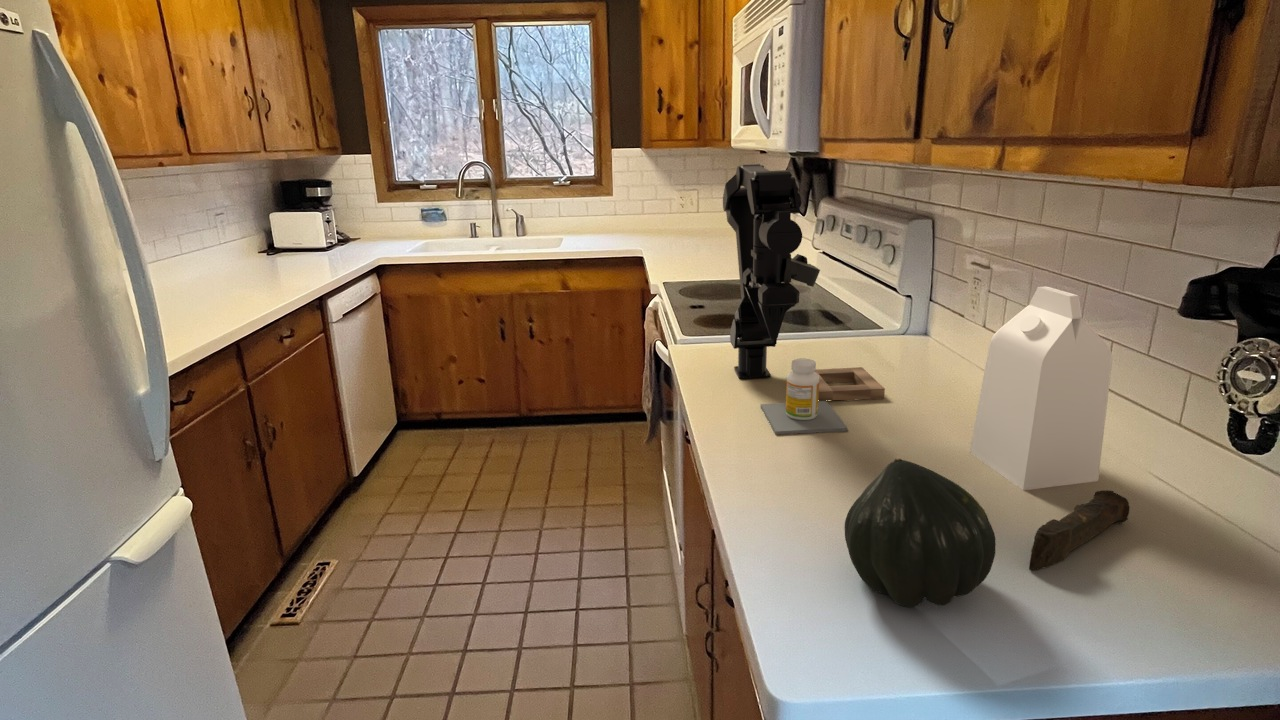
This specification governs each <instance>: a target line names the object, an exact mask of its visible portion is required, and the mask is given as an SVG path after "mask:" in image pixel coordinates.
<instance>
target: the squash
mask: <svg viewBox="0 0 1280 720" xmlns="http://www.w3.org/2000/svg"><path fill="white" fill-rule="evenodd" d="M844 539H845V543H846V547H847V551H848V555H849V557H850V560H851V563H852V565H853V566H854V569H855V570H856V572H857V573H858V576H859V577H860V579H861V580H862V582H863V583H864V584H865V585H866V586H867V587H868V588H870V589H871V590H872V591H873V592H876V593H879V594H883V595H889V596H890V598H891V599H892V600H893V601H894V603H896V604H898V605H899V606H902V607H905V608H913V607H916V606H919V605H920V604H922V603H923V601H924V599H926V601H927V602H929V603H930V604H932V605H936V606H945V605H947V604H949V603H950V602H951V601H952V600H953V599H954V597H961V596H966V595H968V594H970V593H971V592H973V591H974V590H975V589H976V587H978V586H980V585H981V584H982V583H983V582H984V581H985V580H986V578H987V577H988V576H989V573H990V572H991V569H992V567H993V563H994V560H995V557H996V535H995V532H994V529H993V526H992V524H991V523H990V520H989V518H988V515H987V513H986V511H985V510H984V508H983V507H982V506H981V505H980V503H979V502H978V501H977V500H976V498H975V497H974V496H973V495H972V494H971V493H970V492H969V491H967V490H966V489H965V488H963V487H962V486H961V485H959V484H957V483H955V482H954V481H953V480H951V479H949V478H947V477H945V476H943V475H941V474H939V473H938V472H935V471H934V470H932V469H930V468H927V467H925V466H923V465H920V464H917V463H916V462H915V463H914V462H912V461H908V460H906V459H902V458H900V457H899V458H894V460H893V461H892V462H890V463H889V464H888V465H887V466H885V468H884V469H882V471H881V472H880V473H879V475H878V476H877V477H876V478H875V479H873V480H872V481H871V482H870V484H868V485H867V486H866V487H865V489H864V490H863V491H862V493H861V494H860V495H859V497H858V498H857V499H856V500H855V501H854V502H853V504H852V505H851V507H850V508H849V509H848V513H847V515H846V517H845V520H844Z"/></svg>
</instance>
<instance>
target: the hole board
mask: <svg viewBox="0 0 1280 720" xmlns="http://www.w3.org/2000/svg"><path fill="white" fill-rule="evenodd" d="M814 372H815V373H816V374H817V375H818V376H819V395H818V400H819V401H826V400H850V401H856V400H855V399H869V400H883V398H884V399H885V391H886V390H885V389H886V388H885V387H884V386H883V385H881V383H880V382H879V381H878V380H876V379H875V378H874V377H873V376H872V375H871V374H870V373H869V372H868V371H867V370H866V369H865V368H863V366H860V367H840V368H822V369H819V368H818V369H817V368H816V370H815V371H814ZM826 382H835V383H850V382H851V383H854V384H851V385H850V384H849V385H848V384H847V385H831V386H830V385H829V383H826ZM880 398H881V399H880Z"/></svg>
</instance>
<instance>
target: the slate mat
mask: <svg viewBox="0 0 1280 720" xmlns="http://www.w3.org/2000/svg"><path fill="white" fill-rule="evenodd" d="M760 409H761V412H764V413H763V414H765V415H764V417H765V418H766V420H767V422H768V421H769V422H768V424H769V423H770V424H769V425H771V426H770V427H771V429H772V431H773V433H774V434H775V435H776V434H781V435H794V434H793V433H800V434H815V433H816V432H819V433H833V432H834V433H835V432H836V433H837V432H838V433H839V432H848V431H849V430H848V429H849V428H848V425H847V424H845V422H844V421H843V420H842V419H841V417H840V416H839V415H838V413H837V412H836V411H835V410H834V409H833V407H832V406H831V405H830V403H829V402H827V401H818V414H817V416H816V417H815V418H814V419H811V420H796V419H792V418H790V417H788V416H787V414H786V402H778V403H777V402H776V403H773V402H772V403H760ZM814 432H815V433H814ZM816 434H817V433H816ZM776 436H777V435H776Z"/></svg>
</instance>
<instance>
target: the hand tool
mask: <svg viewBox="0 0 1280 720" xmlns="http://www.w3.org/2000/svg"><path fill="white" fill-rule="evenodd" d="M1130 509H1131V508H1130V503H1129V500H1128V499H1127V498H1126V497H1124V496H1123V495H1121V494H1119V493H1117V492H1114V491H1113V490H1109V489H1108V490H1107V489H1106V490H1097V491H1095V492H1094V494H1093V497H1092V499H1090V500H1089V501H1087V502H1085V503H1080V504H1076V506H1074V508H1073V511H1071V513H1069V514H1066V515H1065V516H1064V517H1062V518H1061V519H1060V520H1058V519H1055V518H1054V519H1050V520H1049V521H1047V522H1046V523H1045V524H1041V526H1040V527H1039V528H1038V529H1037V530H1036V532H1035V534H1034V541H1033V544H1032V547H1031V551H1030V552H1031V554H1030V560H1029V566H1028V569H1029V570H1030V571H1034V570H1035V571H1038V570H1042V569H1044V568H1049V567H1050V566H1054V565H1055V564H1058V563H1061V562H1064V561H1065V560H1066V559H1067V556H1068V554H1069V553H1070V552H1071V551H1073V550H1074V549H1075V548H1078V547H1079V546H1081V545H1082V544H1085V543H1087V542H1089V541H1090V540H1091V539H1092V538H1093V537H1095V536H1097V535H1098V534H1100V533H1102V532H1103V531H1105V530H1107V529H1108V527H1111V526H1112V525H1113V524H1114V523H1117V524H1123V523H1124V522H1126V521H1128V520H1129V515H1130Z"/></svg>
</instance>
